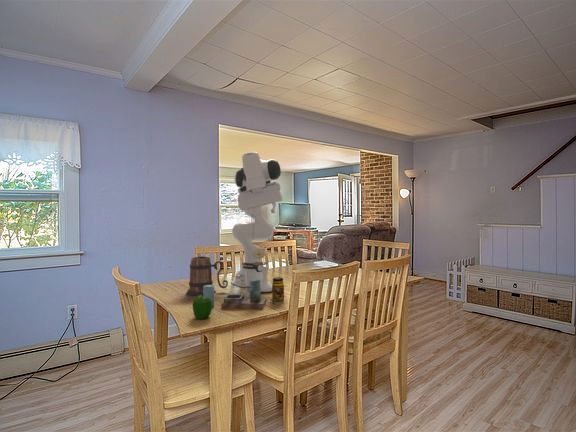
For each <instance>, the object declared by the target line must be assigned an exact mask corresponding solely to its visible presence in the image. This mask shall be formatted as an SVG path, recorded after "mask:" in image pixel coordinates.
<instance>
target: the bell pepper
mask: <svg viewBox="0 0 576 432" xmlns="http://www.w3.org/2000/svg"><path fill="white" fill-rule="evenodd" d="M212 310H213V309H212V301H211V300H210V298H206V299H203V296H201V295H200V296H198V297H197V298H195V299H193V301H192V311H193V315H194V317H195V319H197V320H203V319H207V318H209V317H210V316H211V313H212Z"/></svg>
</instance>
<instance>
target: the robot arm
mask: <svg viewBox="0 0 576 432" xmlns="http://www.w3.org/2000/svg"><path fill="white" fill-rule="evenodd" d="M241 160H242V167H241V168H240V169H239V170H237V171H236V172H235V175H234V183H235V185H236V187H237V193H238V196H237V205H238V209H239V210H241V211H243V212H244V214H245V215H246V216H248V217H249V218H251V219H253V222H240V223H235V224H234V225H233V227H232V231H231V233H232V237H233V238H234V239H236V241H238V242H239V243H240V244H241V247H242V249H243V255H244V262H242V263H241V266H242V268H240V270H238V271H237V272H236V273H235V275H234V280H232V281H231V282H230V284H232V285H235V286H237V287H241V288H250V280H252V279H259V280H261V281H262V279H263V274H262V270H261V268H260V267H264V265H263V264H264V262H263V258H262V259H261V258H260V259H257V258H256V259H255V258H253V256H252V253H253V251H254V250H255V249H257V248H260V249H261V248H262V247H260V246H258V245H256V244H254V243H253V241H262V240H263V241H264V240H268V239H269V240H270V239H271V238H272V237H273V235H274V234H275V229H274V226H273V225H272V224H271V223H270V222H269V221H268V220H267V219H266V217H265V216H264V213H263V206H267V205H272V208H271V209H270V211H271V214H275V213H276V211H275V210H276V205H277V204H276V203H280V202H282V201H283V196H282V193H281V184H280V183H279V182H277V180H278V179H279V178H280V177H281V175H282V169H281V165H280V163H279V161H277V160H276V159H274V158H272V159H268V160H264V159H261V157H260V154H259V153H258V152H256V151H250V152H247V153H244V154H242V157H241ZM275 180H276V181H275ZM272 181H273V182H272ZM255 262H261V263H260V264H259V265H253V264H254V263H255ZM261 264H262V265H263V266H262V265H261Z"/></svg>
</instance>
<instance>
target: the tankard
mask: <svg viewBox="0 0 576 432" xmlns="http://www.w3.org/2000/svg"><path fill="white" fill-rule="evenodd" d="M218 264H220V268H219V270H218ZM212 267H213V268H214V269H215V270H216V271H217V270H218V272H217V274H216V275H217V276H216V279H217V284H218V286H219V287H220V289H221V288H222V289H226V288H227V287H228V285H229V282H228V280H226V279H224V280H222V284H221V283H220V273H221V271H222V268H223V262H222V261H220V260H218V261H216V262H214V264H212V261H211V257H209V256H208V257H207V256H196V257H195V256H194V257H191V260H190V264H189V282H188V286H189V289H187V291H186V292H185V295H186V296H187V297H195V298H198V296H200V295H201V296H202V297H203V286H205V285H213V276H212V275H213V274H212ZM216 293H217V291H216V290H215V289H214V295H215V294H216Z"/></svg>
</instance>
